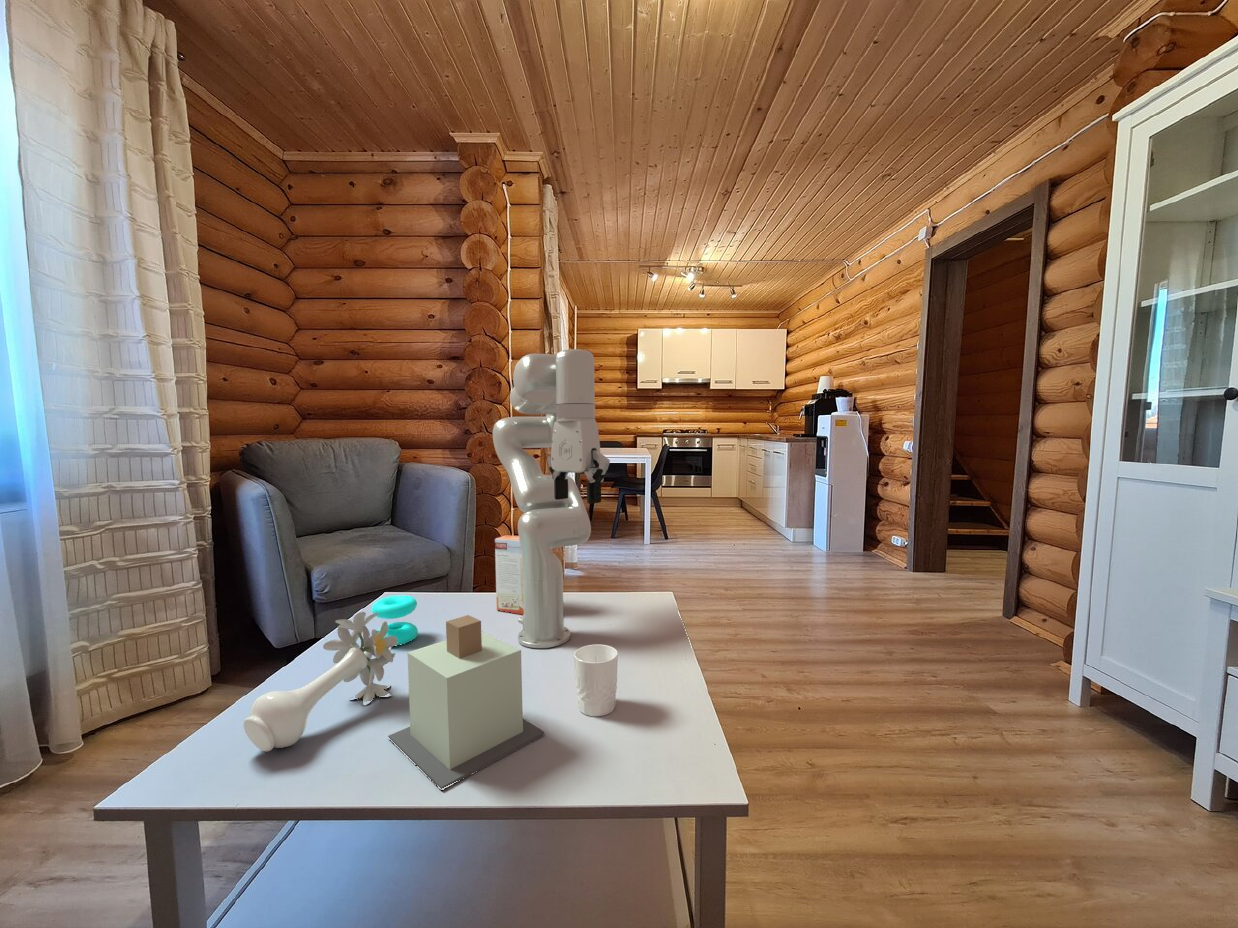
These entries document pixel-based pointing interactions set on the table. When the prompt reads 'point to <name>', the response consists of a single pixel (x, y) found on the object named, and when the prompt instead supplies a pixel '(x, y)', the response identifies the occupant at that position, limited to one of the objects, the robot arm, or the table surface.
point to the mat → (448, 776)
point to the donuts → (397, 616)
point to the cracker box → (509, 574)
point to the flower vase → (322, 684)
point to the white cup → (596, 679)
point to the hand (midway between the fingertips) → (577, 500)
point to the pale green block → (465, 693)
